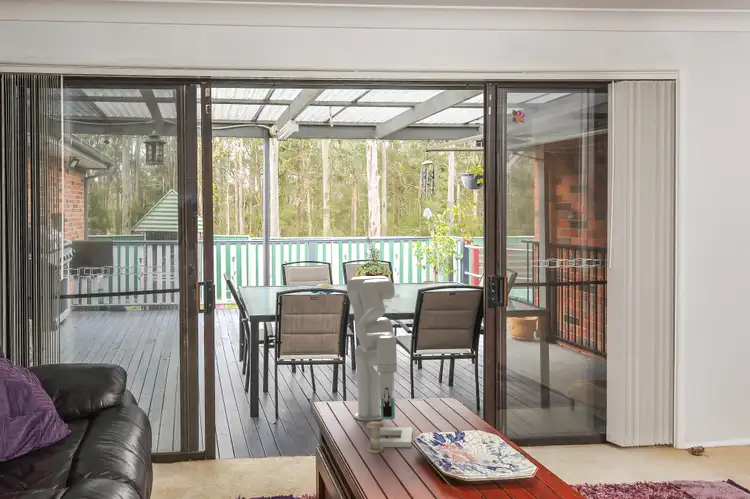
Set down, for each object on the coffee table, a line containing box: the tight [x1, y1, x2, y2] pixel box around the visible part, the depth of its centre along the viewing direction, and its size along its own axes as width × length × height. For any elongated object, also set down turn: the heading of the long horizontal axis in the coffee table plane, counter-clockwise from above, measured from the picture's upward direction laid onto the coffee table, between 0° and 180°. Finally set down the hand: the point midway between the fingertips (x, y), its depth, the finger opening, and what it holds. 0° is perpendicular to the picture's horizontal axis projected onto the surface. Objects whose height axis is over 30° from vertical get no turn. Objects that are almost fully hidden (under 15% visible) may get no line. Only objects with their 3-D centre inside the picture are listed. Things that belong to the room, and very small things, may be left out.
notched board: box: [380, 426, 414, 448], centre depth 292 cm, size 18×14×2 cm
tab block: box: [380, 397, 396, 420], centre depth 291 cm, size 5×5×7 cm
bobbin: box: [366, 420, 384, 454], centre depth 279 cm, size 6×6×10 cm
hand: (388, 414), depth 291 cm, fingers closed on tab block, 4 cm apart
